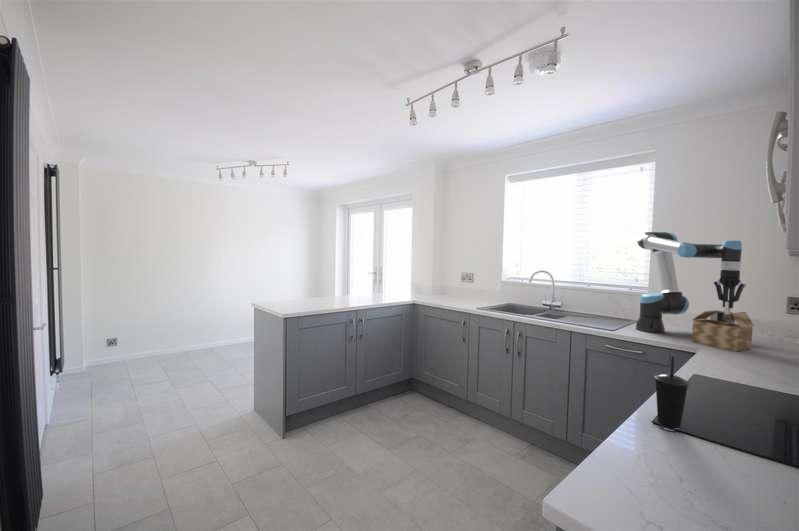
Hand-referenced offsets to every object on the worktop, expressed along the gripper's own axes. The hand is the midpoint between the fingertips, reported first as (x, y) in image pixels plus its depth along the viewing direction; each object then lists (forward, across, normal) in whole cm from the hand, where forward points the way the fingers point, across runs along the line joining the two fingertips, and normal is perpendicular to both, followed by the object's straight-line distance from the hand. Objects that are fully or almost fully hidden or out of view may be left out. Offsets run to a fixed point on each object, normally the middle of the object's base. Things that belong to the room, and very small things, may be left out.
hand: (727, 314), depth 188 cm
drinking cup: (+18, +44, -126) cm, 135 cm away
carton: (+18, -2, 0) cm, 18 cm away
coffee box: (+18, -10, +18) cm, 27 cm away
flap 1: (+3, -10, 0) cm, 10 cm away
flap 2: (+2, +6, 0) cm, 7 cm away
